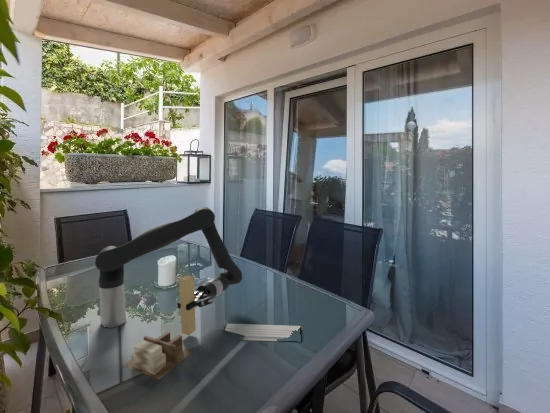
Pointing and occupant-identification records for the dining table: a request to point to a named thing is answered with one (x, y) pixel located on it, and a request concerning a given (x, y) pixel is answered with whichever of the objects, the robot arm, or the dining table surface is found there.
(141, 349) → the offcut top
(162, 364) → the offcut low
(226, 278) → the robot arm
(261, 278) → the dining table surface
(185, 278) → the slat
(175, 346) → the rack
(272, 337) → the baseboard molding
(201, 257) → the dining table surface
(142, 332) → the dining table surface
